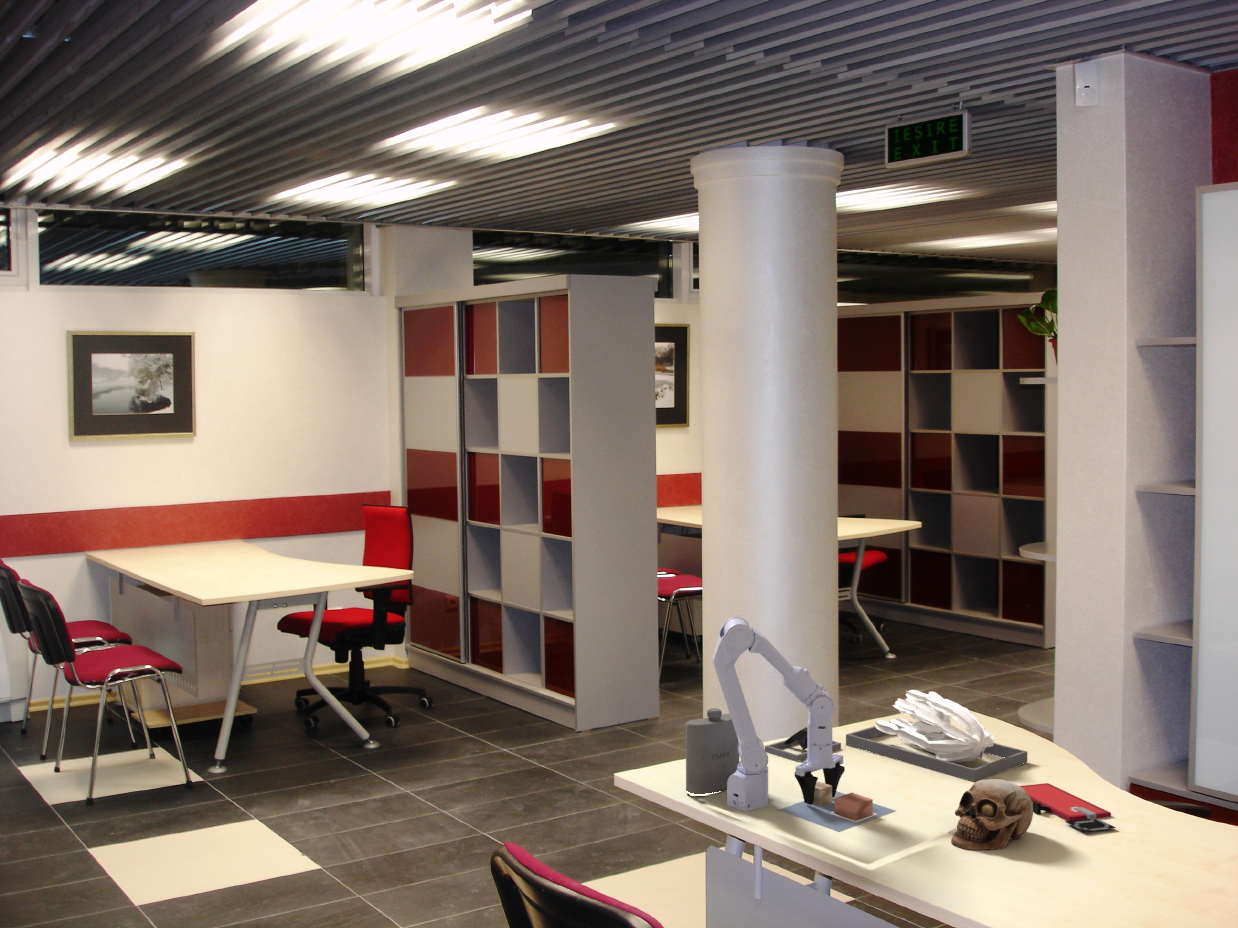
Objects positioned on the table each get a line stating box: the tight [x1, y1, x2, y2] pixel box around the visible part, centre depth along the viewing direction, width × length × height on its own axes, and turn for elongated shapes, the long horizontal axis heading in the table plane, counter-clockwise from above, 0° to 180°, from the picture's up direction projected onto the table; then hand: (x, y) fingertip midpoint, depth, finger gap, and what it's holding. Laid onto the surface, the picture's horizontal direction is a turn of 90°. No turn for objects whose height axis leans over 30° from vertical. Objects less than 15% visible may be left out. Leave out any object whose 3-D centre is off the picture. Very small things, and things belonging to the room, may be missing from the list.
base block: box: [835, 792, 874, 821], centre depth 265 cm, size 6×6×4 cm
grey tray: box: [845, 720, 1028, 783], centre depth 312 cm, size 24×41×3 cm, turn 39°
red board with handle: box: [1019, 782, 1117, 832], centre depth 270 cm, size 30×3×15 cm
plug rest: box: [764, 739, 842, 762], centre depth 316 cm, size 18×12×2 cm, turn 129°
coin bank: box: [950, 778, 1034, 851], centre depth 252 cm, size 16×17×13 cm
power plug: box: [785, 726, 808, 751], centre depth 316 cm, size 6×8×12 cm
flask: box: [685, 707, 740, 794], centre depth 283 cm, size 15×6×20 cm, turn 122°
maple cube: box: [813, 781, 832, 807], centre depth 272 cm, size 4×4×4 cm
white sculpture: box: [874, 689, 995, 764], centre depth 312 cm, size 17×18×35 cm
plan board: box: [777, 790, 896, 833], centre depth 267 cm, size 20×18×1 cm
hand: (819, 799), depth 272 cm, fingers open, 7 cm apart
